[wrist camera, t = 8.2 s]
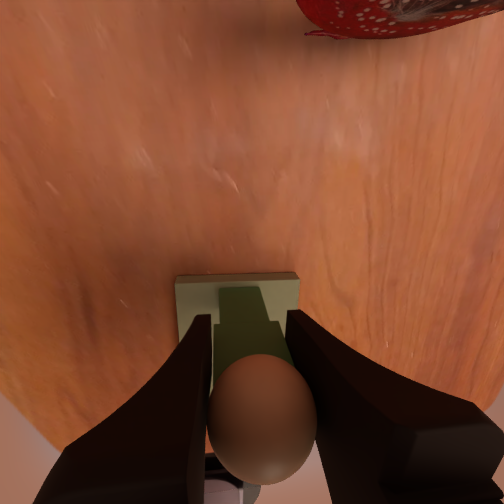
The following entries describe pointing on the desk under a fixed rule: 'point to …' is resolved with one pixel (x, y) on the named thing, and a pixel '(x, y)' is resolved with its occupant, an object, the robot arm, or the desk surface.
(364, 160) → the desk surface
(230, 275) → the toy stand
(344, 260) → the desk surface
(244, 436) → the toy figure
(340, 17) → the decorative bird figurine
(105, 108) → the desk surface
